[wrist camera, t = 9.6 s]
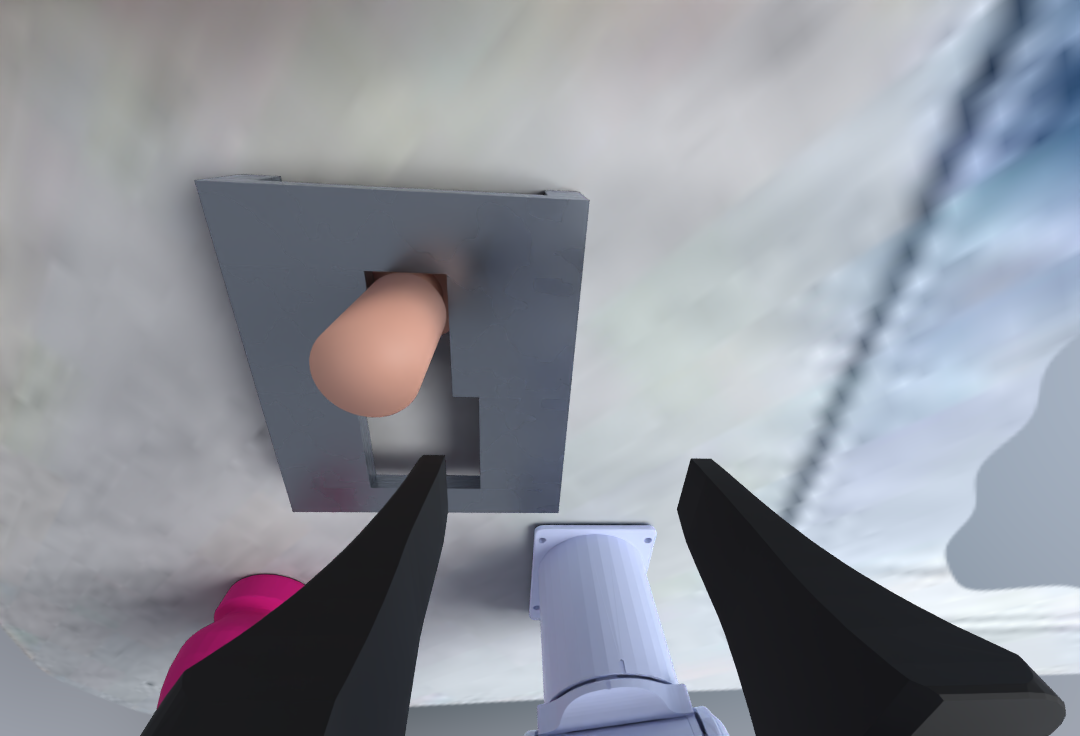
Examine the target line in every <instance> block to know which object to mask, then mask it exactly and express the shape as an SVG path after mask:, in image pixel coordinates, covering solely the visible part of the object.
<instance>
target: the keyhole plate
mask: <svg viewBox="0 0 1080 736" xmlns="http://www.w3.org/2000/svg"><path fill="white" fill-rule="evenodd" d="M195 184H196V187H197V190H198V194H199V197H200V201H201V204H202V207H203V211H204V214H205V217H206V221H207V224H208V228H209V231H210V234H211V238H212V241H213V244H214V248H215V251H216V254H217V258H218V261H219V265H220V268H221V271H222V275H223V278H224V281H225V285H226V288H227V292H228V295H229V298H230V302H231V305H232V308H233V312H234V315H235V318H236V322H237V325H238V329H239V332H240V335H241V339H242V342H243V345H244V349H245V352H246V356H247V359H248V362H249V366H250V369H251V372H252V376H253V379H254V383H255V386H256V389H257V393H258V396H259V399H260V403H261V406H262V409H263V413H264V416H265V420H266V423H267V426H268V430H269V433H270V436H271V440H272V443H273V447H274V450H275V453H276V457H277V460H278V463H279V467H280V470H281V474H282V477H283V480H284V484H285V487H286V490H287V494H288V497H289V500H290V504H291V507H292V511H293V512H379V511H380V510H381V509H382V508H383V507H384V505H385V504H386V503H387V502H388V500H389V499H390V498H391V497H392V495H393V494H394V493H395V492H396V490H397V489H398V488H399V487H400V485H401V484H402V483H403V481H404V480H405V479H406V477H407V476H408V475H376V470H375V464H374V458H373V452H372V446H371V440H370V434H369V427H368V421H367V417H364V416H359V415H355V414H352V413H349V412H347V411H345V410H343V409H341V408H339V407H337V406H336V405H334V404H333V403H332V402H330V401H329V400H328V399H327V398H326V397H325V396H324V395H323V394H322V393H321V392H320V390H319V389H318V387H317V386H316V384H315V382H314V380H313V378H312V375H311V372H310V366H309V357H310V352H311V349H312V346H313V344H314V343H315V341H316V340H317V338H318V337H319V336H320V335H321V334H322V333H323V332H324V331H325V330H326V329H327V328H328V327H329V326H330V325H331V324H332V323H333V322H334V321H335V320H336V319H337V318H338V317H339V316H340V315H341V314H342V313H343V312H344V311H345V310H346V309H347V308H348V307H350V306H351V305H352V304H353V303H354V302H355V301H356V300H357V299H358V298H359V297H360V296H361V295H362V294H363V293H364V292H365V291H366V290H367V289H368V288H369V287H370V286H371V285H372V284H373V283H374V279H373V271H379V272H404V273H429V274H447V293H448V313H449V333H450V354H451V374H452V394H453V397H479V428H480V476H468V475H446V480H447V496H448V512H462V513H558V511H559V501H560V491H561V481H562V471H563V461H564V451H565V441H566V431H567V421H568V411H569V401H570V391H571V381H572V371H573V361H574V351H575V341H576V331H577V321H578V311H579V301H580V291H581V281H582V271H583V261H584V251H585V241H586V231H587V221H588V211H589V201H590V200H588V199H587V198H586V197H585V196H584V195H582V194H581V193H580V192H571V191H552V190H545V195H532V194H512V193H493V192H474V191H454V190H435V189H416V188H396V187H377V186H357V185H338V184H319V183H299V182H282V180H281V176H266V175H247V174H241V175H233V176H225V177H217V178H208V179H200V180H195Z"/></svg>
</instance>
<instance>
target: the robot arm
mask: <svg viewBox="0 0 1080 736" xmlns="http://www.w3.org/2000/svg"><path fill="white" fill-rule="evenodd" d="M677 511H678V515H679V519H680V522H681V526H682V530H683V533H684V536H685V540H686V543H687V545H688V548H689V550H690V552H691V555H692V557H693V559H694V562H695V564H696V567H697V569H698V571H699V573H700V576H701V578H702V580H703V583H704V585H705V587H706V590H707V592H708V594H709V597H710V599H711V601H712V603H713V606H714V608H715V610H716V613H717V615H718V617H719V620H720V622H721V625H722V628H723V630H724V633H725V636H726V639H727V642H728V645H729V648H730V651H731V654H732V657H733V660H734V663H735V666H736V669H737V672H738V676H739V679H740V682H741V686H742V689H743V692H744V696H745V698H746V702H747V706H748V708H749V712H750V716H751V720H752V723H753V727H754V730H755V734H756V736H1049V735H1050V734H1051V733H1052V732H1054V731H1055V730H1056V729H1057V728H1058V727H1059V726H1060V725H1061V724H1062V722H1063V720H1064V717H1065V716H1066V710H1065V704H1064V702H1063V701H1062V700H1061V699H1060V698H1059V697H1058V696H1057V695H1056V694H1055V692H1054V691H1053V690H1052V689H1051V688H1050V687H1049V686H1048V685H1047V684H1046V683H1045V682H1044V681H1043V680H1042V679H1041V678H1040V677H1039V676H1038V675H1037V674H1036V673H1035V672H1034V671H1033V670H1032V669H1031V668H1030V667H1029V665H1028V664H1027V663H1026V662H1025V661H1024V660H1023V659H1022V658H1021V657H1020V656H1019V655H1017V654H1015V653H1013V652H1011V651H1008V650H1006V649H1004V648H1002V647H1000V646H998V645H996V644H993V643H991V642H989V641H987V640H985V639H983V638H981V637H978V636H976V635H974V634H972V633H970V632H968V631H965V630H963V629H961V628H959V627H957V626H955V625H953V624H951V623H949V622H947V621H945V620H943V619H941V618H939V617H937V616H935V615H933V614H931V613H930V612H928V611H926V610H924V609H922V608H920V607H918V606H916V605H914V604H912V603H911V602H909V601H907V600H905V599H903V598H902V597H900V596H898V595H896V594H894V593H893V592H891V591H889V590H888V589H886V588H884V587H882V586H881V585H879V584H877V583H876V582H874V581H872V580H871V579H869V578H867V577H866V576H864V575H862V574H861V573H859V572H857V571H856V570H854V569H853V568H851V567H849V566H848V565H846V564H845V563H843V562H842V561H840V560H839V559H837V558H836V557H834V556H833V555H831V554H830V553H829V552H827V551H826V550H824V549H823V548H821V547H820V546H818V545H817V544H815V543H814V542H813V541H811V540H810V539H808V538H807V537H806V536H804V535H803V534H802V533H801V532H799V531H798V530H797V529H795V528H794V527H793V526H791V525H790V524H789V523H787V522H786V521H785V520H784V519H782V518H781V517H780V516H779V515H777V514H776V513H775V512H774V511H772V510H771V509H770V508H769V507H767V506H766V505H765V504H764V503H763V502H761V501H760V500H759V499H758V498H757V497H756V496H754V495H753V494H752V493H751V492H750V491H749V490H747V489H746V488H745V487H744V486H743V485H742V484H740V483H739V482H738V481H737V480H736V479H735V478H733V477H732V476H731V475H730V474H729V473H728V472H726V471H725V470H724V469H723V468H722V467H721V466H719V465H718V464H717V463H716V462H714V461H713V460H712V459H691V460H690V464H689V467H688V471H687V475H686V478H685V482H684V485H683V489H682V493H681V496H680V500H679V504H678V507H677ZM447 514H448V496H447V480H446V465H445V455H423V456H422V457H421V458H419V460H418V461H417V463H416V464H415V466H414V467H413V469H412V470H411V472H410V473H409V474H408V476H407V477H406V479H405V480H404V481H403V483H402V484H401V485H400V487H399V488H398V489H397V490H396V492H395V493H394V494H393V495H392V497H391V498H390V499H389V500H388V502H387V503H386V504H385V505H384V507H383V508H382V509H381V510H380V511H379V513H378V514H377V515H376V516H375V517H374V518H373V519H372V520H371V521H370V523H369V524H368V525H367V526H366V527H365V528H364V529H363V530H362V531H361V533H360V534H359V535H358V536H357V537H356V538H355V539H354V540H353V541H352V542H351V543H350V544H349V545H348V546H347V547H346V548H345V549H344V550H343V551H342V552H341V553H340V554H339V555H338V556H337V557H336V558H335V559H334V560H333V561H332V562H330V563H329V564H328V565H327V566H326V567H325V568H324V569H323V570H322V571H320V572H319V573H318V574H317V575H316V576H315V577H314V578H312V579H311V580H310V581H309V582H308V583H307V584H306V585H304V586H303V587H302V588H301V589H300V590H298V591H297V592H296V593H295V594H294V595H292V596H291V597H290V598H289V599H287V600H286V601H285V602H283V603H282V604H281V605H279V606H278V607H277V608H275V609H274V610H273V611H271V612H270V613H269V614H267V615H266V616H265V617H263V618H262V619H261V620H260V621H258V622H257V623H256V624H254V625H253V626H251V627H250V628H249V629H247V630H246V631H244V632H243V633H242V634H240V635H239V636H237V637H236V638H234V639H233V640H231V641H230V642H228V643H227V644H225V645H224V646H222V647H221V648H219V649H217V650H216V651H214V652H213V653H211V654H210V655H208V656H207V657H205V658H204V659H202V660H201V661H199V662H198V663H196V664H195V665H193V666H191V667H190V668H188V669H186V670H185V671H184V672H183V673H182V675H181V676H180V678H179V679H178V680H177V682H176V683H175V684H174V686H173V687H172V688H171V690H170V691H169V692H168V694H167V695H166V696H165V698H164V699H163V701H162V702H161V704H160V705H159V707H158V708H157V710H156V711H155V713H154V715H153V716H152V718H151V719H150V721H149V723H148V724H147V726H146V727H145V729H144V730H143V732H142V734H141V735H140V736H405V731H406V724H407V717H408V711H409V704H410V698H411V691H412V685H413V678H414V672H415V666H416V660H417V653H418V647H419V641H420V636H421V631H422V626H423V622H424V618H425V614H426V610H427V606H428V602H429V598H430V594H431V590H432V586H433V582H434V578H435V575H436V571H437V567H438V563H439V559H440V555H441V551H442V547H443V543H444V536H445V529H446V522H447ZM656 535H657V532H656V530H655V528H654V527H653V526H649V525H540V526H538V527H536V528H535V531H534V546H533V561H532V576H531V591H530V607H529V617H530V618H531V619H533V620H540V622H541V643H542V665H543V687H544V704H540V705H538V706H537V715H538V717H537V718H538V730H529V731H527V732H526V733H525V735H524V736H729V734H728V732H727V730H726V728H725V726H724V725H723V723H722V722H721V721H720V720H719V719H718V718H717V717H715V716H714V715H713V714H712V713H711V712H710V711H709V709H708V708H706V707H705V706H699V707H695V708H693V707H692V704H691V701H690V698H689V694H688V691H687V688H686V685H685V684H679V683H678V680H677V676H676V673H675V670H674V666H673V663H672V659H671V656H670V653H669V649H668V646H667V642H666V639H665V636H664V632H663V629H662V626H661V622H660V619H659V615H658V612H657V609H656V605H655V602H654V598H653V595H652V592H651V588H650V585H649V582H648V578H647V575H646V574H647V570H648V566H649V562H650V558H651V554H652V550H653V547H654V543H655V539H656Z"/></svg>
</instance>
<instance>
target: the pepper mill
mask: <svg viewBox="0 0 1080 736" xmlns="http://www.w3.org/2000/svg"><path fill="white" fill-rule="evenodd" d="M303 586H304V584H302V583H301V582H298V581H296V580H293V579H291V578H288V577H284V576H279V575H269V574H261V575H253V576H250V577H247V578H243V579H241V580H239V581H238V582H236V583H235V584H234V585H232V587H231V588H230V589H229V591H228V592H227V594H226V595H225V597H224V598H223V600H222V602H221V603H220V605H219V606H218V608H217V609H216V611H215V614H214V623H212V624H210V625H208V626H206V627H204V628H202V629H201V630H199V631H198V632H196V633H195V634H194V635H192V636H191V637H190V638H189V639H188V640H187V641H186V642H185V644H184V645H183V646H182V648H181V649H180V651H179V653H178V654H177V656H176V658H175V660H174V661H173V663H172V665H171V666H170V668H169V671H168V673H167V676H166V679H165V681H164V684H163V687H162V689H161V693H160V697H159V701H158V706H157V708H158V707H159V705H160V704H161V702H162V701H163V699H164V698H165V696H166V695H167V694H168V692H169V691H170V690H171V688H172V687H173V686H174V684H175V683H176V682H177V680H178V679H179V678H180V676H181V675H182V673H183V672H184V671H185V670H186V669H188V668H190V667H191V666H193V665H195V664H196V663H198V662H199V661H201V660H202V659H204V658H205V657H207V656H208V655H210V654H211V653H213V652H214V651H216V650H217V649H219V648H221V647H222V646H224V645H225V644H227V643H228V642H230V641H231V640H233V639H234V638H236V637H237V636H239V635H240V634H242V633H243V632H244V631H246V630H247V629H249V628H250V627H251V626H253V625H254V624H256V623H257V622H258V621H260V620H261V619H262V618H263V617H265V616H266V615H267V614H269V613H270V612H271V611H273V610H274V609H275V608H277V607H278V606H279V605H281V604H282V603H283V602H285V601H286V600H287V599H289V598H290V597H291V596H292V595H294V594H295V593H296V592H297V591H298V590H300V589H301V588H302V587H303Z"/></svg>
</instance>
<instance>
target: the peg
mask: <svg viewBox="0 0 1080 736" xmlns="http://www.w3.org/2000/svg"><path fill="white" fill-rule="evenodd" d="M373 279H374V283H373V284H372V285H371V286H370V287H369V288H368V289H367V290H366V291H365V292H364V293H363V294H362V295H361V296H360V297H359V298H358V299H357V300H356V301H355V302H354V303H353V304H352V305H351V306H350V307H348V308H347V309H346V310H345V311H344V312H343V313H342V314H341V315H340V316H339V317H338V318H337V319H336V320H335V321H334V322H333V323H332V324H331V325H330V326H329V327H328V328H327V329H326V330H325V331H324V332H323V333H322V334H321V335H320V336H319V337H318V338H317V340H316V341H315V343H314V344H313V346H312V349H311V352H310V357H309V366H310V372H311V375H312V378H313V380H314V382H315V384H316V386H317V387H318V389H319V390H320V392H321V393H322V394H323V395H324V396H325V397H326V398H327V399H328V400H329V401H330V402H332V403H333V404H334V405H336V406H337V407H339V408H341V409H343V410H345V411H347V412H349V413H352V414H355V415H359V416H364V417H384V416H389V415H392V414H395V413H397V412H400V411H401V410H403V409H405V408H406V407H407V406H409V405H410V403H411V402H412V401H413V400H414V399H415V397H416V396H417V394H418V392H419V389H420V387H421V384H422V382H423V379H424V377H425V374H426V372H427V369H428V367H429V364H430V362H431V359H432V357H433V354H434V352H435V349H436V347H437V344H438V342H439V339H440V337H441V335H443V334H445V333H447V332H448V331H449V313H448V293H447V274H429V273H404V272H379V271H373Z"/></svg>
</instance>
